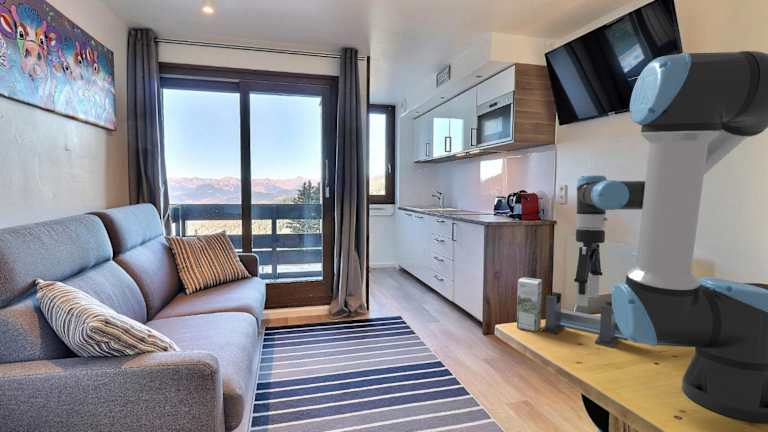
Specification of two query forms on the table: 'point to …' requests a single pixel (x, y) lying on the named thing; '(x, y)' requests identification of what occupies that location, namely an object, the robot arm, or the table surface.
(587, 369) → the table surface
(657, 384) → the table surface
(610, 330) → the post near
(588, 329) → the mat
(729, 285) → the robot arm
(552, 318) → the post far
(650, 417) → the table surface
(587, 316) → the rail
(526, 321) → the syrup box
